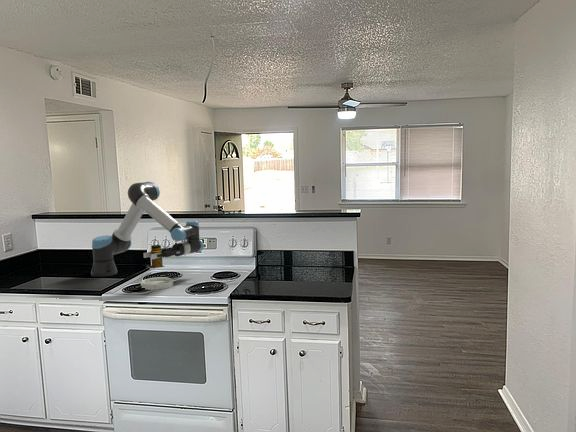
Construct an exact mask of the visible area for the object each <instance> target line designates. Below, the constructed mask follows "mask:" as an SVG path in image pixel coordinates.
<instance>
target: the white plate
mask: <svg viewBox="0 0 576 432" xmlns="http://www.w3.org/2000/svg"><path fill="white" fill-rule="evenodd" d="M141 286H142V287H141ZM172 286H174V280H173V278H171V277H167V276H164V277H163V276H157V277H149V278H146V279H143V280H141V281H140V287H141V289H142V288H145V289H144V290H148V291H150V290H151V291H153V290H155V291H156V290H163V289H168V288H171V287H172Z"/></svg>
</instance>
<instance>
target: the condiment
mask: <svg viewBox="0 0 576 432" xmlns="http://www.w3.org/2000/svg"><path fill="white" fill-rule="evenodd" d="M161 249H162V246H161V244H154V245H153V244H152V245H151V248H150V252H151V254H155V253H160V252H161V253H162V250H161ZM150 261H151V265H146V268H148V269H149V270H151V269H159V268H165V267H166V266H164V265H163V264H164V263H163V257H161V258H156V259H151V258H150Z"/></svg>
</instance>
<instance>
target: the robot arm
mask: <svg viewBox="0 0 576 432" xmlns="http://www.w3.org/2000/svg"><path fill="white" fill-rule="evenodd" d="M160 191H161V190H160V187H159V186H158V184H156V183H155V182H152V181H145V182H135V183H133V184H131V185H130V186H129V187H128V189H127V197H128V199H129V200H130V202H131V203H132V204H131V205H130V206H129V208H128V210H127V212H126V214H125V216H124V218H123V220H122V221H121V223H120V225H119V227H118V228H117V229H115V230H114V231H113V232H112V235H107V234H105V235H99V236H96V237H95V238H93V239H92V242H91V244H92V245H91V248H92V250H91V251H92V258H93V260H92V261H93V263H92V267H91V271H90V275H91V277H94V278H102V277H110V276H114V275H117V274H118V269H117V268H118V267H117V266H116V263H115V260H114V255H115V256H116V255H118V254H121V253H124V252H126V251H128V250H130V248H131V247H132V234H133V232H134V231H135V228H136V226H137V224H138V223H139V221H140V219H141V218H142V216H143V215H144V213H146V214H147V215H148V216H149V217H151V218H152V219H153V220H155V221H156V222H157V223H158V224H159V225H160V226H161V227H163V228H164V229H165V230H166V231H167V232H169V234H170V236H171V239H172V240H173V241H175V242H177V243H174V244H173V245H172V246H171V247H163V248H162V247H161V250H162V253H161V252H160V253H155V254H151V251H148V252H143V258H144V259H147V258H150V260H151V259H156V258H161V257H162V258H169V257H174V256H175V257H180V256H187V255H190V254H195V253H199V252H201V251H203V249H204V247H205V244H204V241H203V240H202V239H201V238H200V225H199V221H198V220H186V222H185V225H184V226H183V225H182V224H181V223H179V222H178V221H177V220H176V219H175V218H173V217H172V216H171V215H170V214H169V213H168V212H166V211H165V210H164V209H163V208H162V207H161V206H160V205H158V204H157V203H156V202H154V201H156V200H158V199H159V198H160V193H161V192H160ZM183 240H186V241H183ZM181 241H182V242H181Z"/></svg>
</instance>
